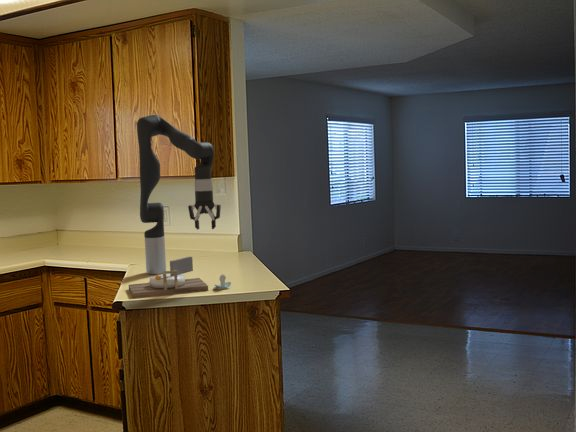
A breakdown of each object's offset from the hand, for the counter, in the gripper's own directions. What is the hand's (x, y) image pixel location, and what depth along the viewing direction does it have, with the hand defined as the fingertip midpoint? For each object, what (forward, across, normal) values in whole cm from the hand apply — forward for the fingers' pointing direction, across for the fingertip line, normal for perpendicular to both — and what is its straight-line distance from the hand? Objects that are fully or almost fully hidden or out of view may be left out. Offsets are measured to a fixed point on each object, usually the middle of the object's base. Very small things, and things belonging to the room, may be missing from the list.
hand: (205, 228), depth 279 cm
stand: (+24, -14, -12) cm, 30 cm away
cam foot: (+21, -12, -8) cm, 26 cm away
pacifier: (+24, +8, -10) cm, 27 cm away
